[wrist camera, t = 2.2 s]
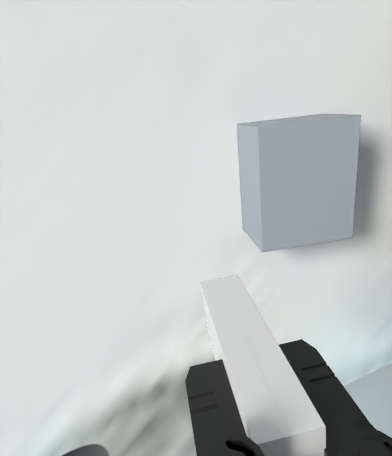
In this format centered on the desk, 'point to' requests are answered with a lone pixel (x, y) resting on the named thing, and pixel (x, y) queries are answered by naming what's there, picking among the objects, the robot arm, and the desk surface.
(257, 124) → the slate block
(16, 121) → the desk surface
